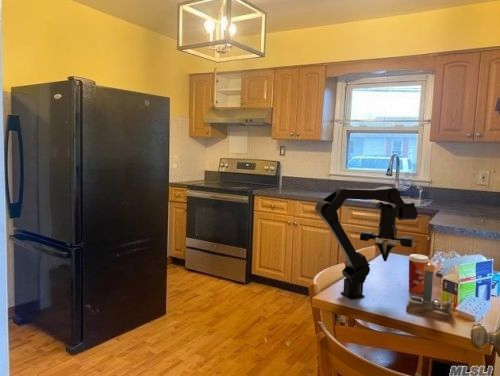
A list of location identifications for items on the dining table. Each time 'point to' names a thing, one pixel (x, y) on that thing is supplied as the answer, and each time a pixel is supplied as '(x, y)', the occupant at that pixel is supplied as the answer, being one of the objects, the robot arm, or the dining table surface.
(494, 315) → the dining table surface
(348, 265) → the robot arm
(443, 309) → the press bench
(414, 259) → the paper cup
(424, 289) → the press handle
